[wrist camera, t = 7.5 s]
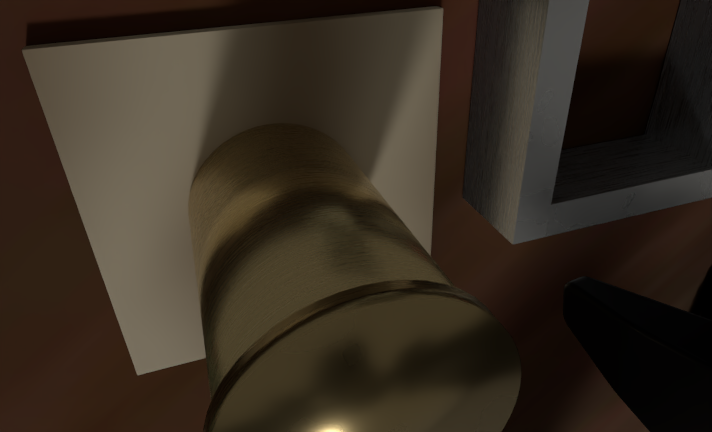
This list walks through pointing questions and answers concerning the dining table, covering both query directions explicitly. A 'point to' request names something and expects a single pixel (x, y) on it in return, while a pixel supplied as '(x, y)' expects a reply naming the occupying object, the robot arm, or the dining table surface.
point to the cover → (332, 301)
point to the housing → (549, 116)
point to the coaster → (218, 124)
